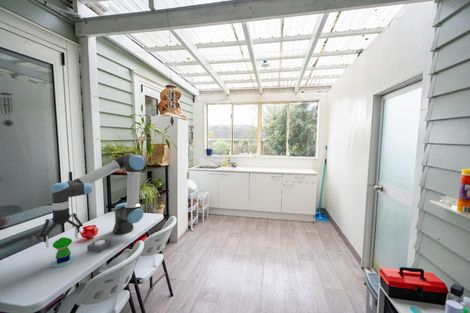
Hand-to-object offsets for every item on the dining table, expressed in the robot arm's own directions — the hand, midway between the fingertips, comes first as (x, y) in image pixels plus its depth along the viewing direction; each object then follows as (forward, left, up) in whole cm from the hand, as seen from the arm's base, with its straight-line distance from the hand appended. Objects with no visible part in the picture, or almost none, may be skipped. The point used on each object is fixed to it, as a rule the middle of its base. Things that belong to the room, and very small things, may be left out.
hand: (62, 242), depth 119 cm
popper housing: (-20, -1, -12) cm, 24 cm away
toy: (0, 0, -12) cm, 12 cm away
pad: (0, 0, -12) cm, 12 cm away
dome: (-20, -2, -11) cm, 23 cm away
